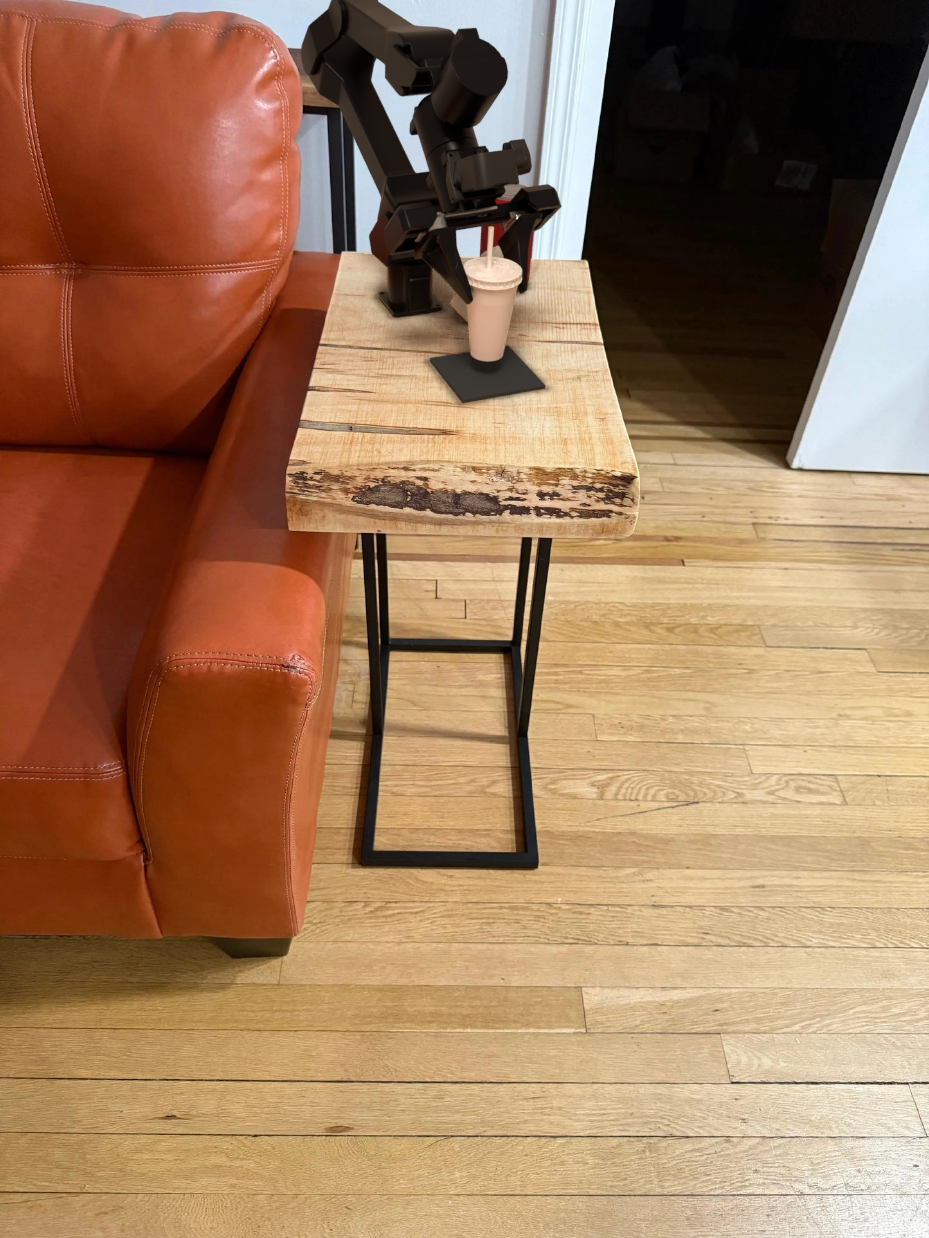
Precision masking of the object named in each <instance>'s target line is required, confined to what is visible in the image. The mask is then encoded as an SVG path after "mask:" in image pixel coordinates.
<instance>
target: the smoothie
mask: <svg viewBox="0 0 929 1238" xmlns="http://www.w3.org/2000/svg"><path fill="white" fill-rule="evenodd" d="M493 235H494V227H492V226H490V227H489V228H488V244H487V257H480V256H477V257H475V258H471V259H468V260H467V261H466V262H464V264H463V266H464V269H465V272H466V275H467V278H468V281H469V284H470V287H471V292H472V296H473V302H472V303H471V304H468V305H467V315H468V322H467V326H468V338H469V339H468V340H469V352H470V353H471V356H472V357H474V358H475V359H477V360H481V361H496V360H499V359H500V358H502V357H503V353H504V349H505V346H506V344H507V340H508V339H507V338H508V335H509V330H510V325H511V320H512V316H513V311H514V306H515V301H516V297H517V293H518V292H517V291H518V290H517V287H518V285H519V284H520V283H521V281H522V268H521V267H520V266H519V265H518V264H517V263H515V262H513V261H511V260H508V259H505V258H500V257H492V250H493Z"/></svg>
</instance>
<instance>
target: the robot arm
mask: <svg viewBox="0 0 929 1238" xmlns="http://www.w3.org/2000/svg"><path fill="white" fill-rule="evenodd" d="M300 57H301V59H300V60H301V64H302V68H303V70H304V73H305V75H307V76H308V77H309V79H310V80H309V81H311V83H312V84H313V87H314V88H315V90H316V91H317V93H318V94H319V95H320V96H322V97H323V98H325V99H326V100H328V101H329V102H331V103H333V104H335V105H336V106H338V108H339V109H340V111H341V114H342V116H343V118H344V121H345V123H346V124H347V127H348V129H349V131H350V133H351V135H352V137H353V139H354V142H355V145H356V146H357V148H358V150H359V153H360V155H361V158H362V160H363V161H364V163H365V165H366V168H367V171H368V172H369V175H370V176H371V179H372V181H373V183H374V185H375V187H376V189H377V191H378V193H379V196H380V203H379V206H378V211H377V212H378V213H377V217H376V222H375V224H374V225H373V227H372V229H371V231H370V232H369V234H368V240H369V247H370V253H371V255H372V256H373V257H375V258H376V259H377V260H378V261H379V262H380V263H381V264H383V266H384V267H386V290H383V291H379V292H378V293H377V294H378V298H379V299H380V300H381V303H383V304H384V306H385V307H386V309H388V311H389V312H390V313H391V315H392V316H393V317H401V316H408V315H416V314H422V313H430V312H437V311H441V310H442V309H443V305H442V304H441V303H440V301H439V300H438V299H437V297H435V296H434V294H433V288H434V287H433V283H434V281H433V280H434V279H433V278H434V276H433V275H434V271H435V272H436V274H438V275H439V276H440V277H441V278H442V279H443V280H444V282H446V284H447V285H448V286H449V287H450V288H451V290H452V289H453V290H454V291H455V292H456V293H457V294H458V295H459V297H460V298H461V299H462V300H463V301H464V302H465V303H466V304H467V305H468V304H471V303H472V302H473V296H472V292H471V287H470V284H469V281H468V278H467V275H466V272H465V269H464V266H463V265H464V264H463V261H462V258H461V255H460V253H459V249H458V245H457V244H458V242H457V240H458V239H457V231H462V230H469V229H475V228H481V227H482V226H488V225H494V224H500V225H501V228H502V231H503V236H502V237H501V238H500V239H499V240H498V244H499V246H500V249H501V251H502V254H503V256H504V258H505V259H508V260H511V261H513V262H515V263H517V264H518V265H519V266H520V267H521V268H522V281H521V283H520V284H519V285H518V287H517V289H518V290H517V291H518V293H519V294H520V295H524V294H525V293H526V292H527V291H528V283H527V277H528V250H529V242H530V236H531V232H536V231H538V230H540V229H542V228H543V227H544V226H545V225H546V224H547V222H548V221H550V219H552V217H553V216H555V215H556V213H557V212H558V211H559V210H560V209H561V208H562V204H561V199H560V196H559V194H558V191H557V189H556V187H554V186H552V185H550V184H549V183H546V184H539V185H533V186H532V185H531V186H527V187H524V188H521V189H520V190H519V191H518V193H517V194H516V195H515V196H514V197H513V198H512V200H511V201H510V202H507V203H501V204H497V203H496V199H497V198H499V197H502V196H503V194H504V193H505V192H506V191H505V187H504V186H505V185H509V184H510V185H512V184H514V185H517V184H520V177H521V176H523V175H527V174H529V173H530V172H531V171H532V167H533V165H532V155H531V152H530V149H529V146H528V145H527V141H526V139H525V138H521V139H520V138H519V139H511V140H509V141H508V142H507V141H506V142H503V143H502V145H501V146H502V147H501V150H492V151H490V150H489V148H487V146H486V145H479V141H478V139H477V136H476V132H475V129H474V127H476V126H478V125H479V124H481V122H482V121H483V119H484V118H485V117H486V115H487V113H488V112H489V110H490V109H491V108H492V106H493V105H494V103H495V101H496V100H497V98H498V97H499V96H500V94H501V92H502V91H503V89H504V88H505V87H506V85H507V82H508V78H509V69H508V64H507V61H506V58H505V57H504V56H502V54H501V52H500V51H499V50H498V49H497V48H496V47H495V46H494V45H493V44H492V43H490V42H488V41H487V40H485V39H482V38H481V37H480V34H479V31H478V28H477V27H465V28H464V27H463V28H458V29H457V30H456V32H454V31H453V30H452V29H450V28H445V27H439V26H427V25H417V24H416V25H415V24H413V23H412V22H410V21H408V20H407V19H405V18H404V17H403V16H401V15H400V14H398V13H396V12H395V11H393V10H392V9H391V8H389V7H387V6H386V5H384V4H383V3H381V2H380V1H379V0H330V2H329V5H328V8H327V9H326V10H325V11H324V12H323V13H321V14H320V15H319V16H318V17H317V18H315V19H314V20H313V21H312V22H311V23H310V24H309V25H308V26H307V29H306V32H305V34H304V37H303V39H302V43H301V47H300ZM377 60H378V61H380V63H382V64H383V65H384V79H385V80H386V81H387V83H388V84H389V85H390V87H391V88H392V89H393V90H394V92H395V93H396V94H397V95H398V96H399V97H403V98H404V97H414V96H424V95H425V96H424V97H423V98H422V99H421V100H420V101H419V103H418V104H417V105H416V106H414V108H413V109H414V110H413V113H412V118H411V120H410V122H409V131H408V132H409V135H410V136H418V139H419V143H420V146H421V149H422V152H423V155H424V158H425V163H426V165H427V169H428V171H421V172H417V171H415V169H414V167H413V165H412V163H411V161H410V159H409V157H408V154H407V153H406V150H405V149H404V147H403V144H402V142H401V140H400V138H399V135H398V133H397V132H396V129H395V127H394V125H393V123H392V120H391V119H390V117H389V115H388V113H387V110H386V108H385V106H384V104H383V102H382V99H381V98H380V96H379V93H378V92H377V90H376V88H375V85H374V83H373V81H372V80H373V79H372V78H373V74H374V68H375V63H376V62H377Z"/></svg>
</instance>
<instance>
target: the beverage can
mask: <svg viewBox="0 0 929 1238" xmlns="http://www.w3.org/2000/svg"><path fill="white" fill-rule="evenodd" d="M504 187H505V191H506V192H505V193H504V194H503V196H502V197H499V198H497V199H496V203H497V204H501V203H507V202H510V201H511V200H512V198H513V197H514V196H515V195H516V194H517V193H518V191H519V190H520V189H521V188H524V187H528V186H527V185H523V184H521V183H519V184H517V185H514V184H512V185H510V184H509V185H505V186H504ZM490 226H492V227H494V235H493V247H496V246H499V244H498V240H499V239H500V238H501V237H502V236H503V231H502V228H501V225H500V224H494V225H488V226H482V227H480V239H479V240H480V241H479V257H480V256H481V254H483V253H484V252H485V251H487V244H488V228H489V227H490ZM534 232H535V231H534ZM534 232H531V236H530V242H529V250H528V277H527V284H528V283H529V281H530V274H531V273H530V272H531V265H532V253H533V242H534ZM499 247H500V246H499ZM517 291H518V289H517Z"/></svg>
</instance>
